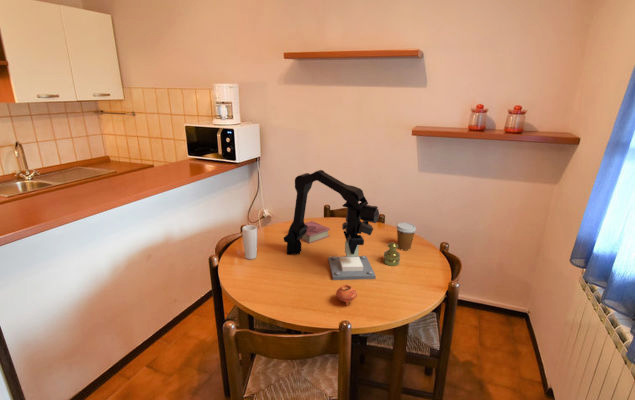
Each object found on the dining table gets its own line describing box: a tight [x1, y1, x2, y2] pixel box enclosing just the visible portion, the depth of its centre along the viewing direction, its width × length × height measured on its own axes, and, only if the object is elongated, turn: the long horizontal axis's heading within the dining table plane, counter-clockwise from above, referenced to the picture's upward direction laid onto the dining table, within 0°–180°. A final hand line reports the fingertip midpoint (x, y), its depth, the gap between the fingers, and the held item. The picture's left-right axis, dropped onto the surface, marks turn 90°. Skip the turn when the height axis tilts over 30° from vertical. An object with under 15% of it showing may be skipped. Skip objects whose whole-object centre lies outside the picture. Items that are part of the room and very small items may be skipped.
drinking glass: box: [241, 224, 258, 260], centre depth 160 cm, size 7×7×15 cm
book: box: [300, 220, 330, 244], centre depth 187 cm, size 14×15×5 cm
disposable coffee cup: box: [395, 222, 417, 251], centre depth 174 cm, size 10×10×12 cm
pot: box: [335, 284, 358, 307], centre depth 130 cm, size 8×8×7 cm
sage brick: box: [344, 240, 360, 256], centre depth 151 cm, size 5×5×5 cm
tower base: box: [327, 255, 377, 281], centre depth 153 cm, size 18×18×4 cm
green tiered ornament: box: [383, 241, 401, 267], centre depth 159 cm, size 7×7×10 cm
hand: (351, 251), depth 151 cm, fingers closed on sage brick, 5 cm apart
